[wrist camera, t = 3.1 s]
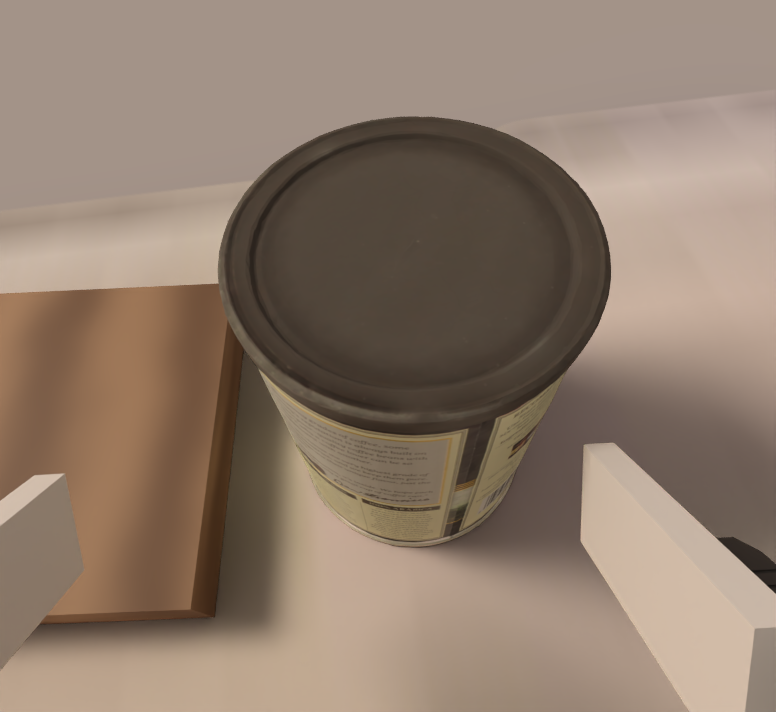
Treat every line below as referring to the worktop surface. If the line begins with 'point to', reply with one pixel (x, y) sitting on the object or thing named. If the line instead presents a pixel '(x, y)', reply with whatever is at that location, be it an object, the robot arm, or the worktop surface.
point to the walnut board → (126, 438)
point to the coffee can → (413, 312)
